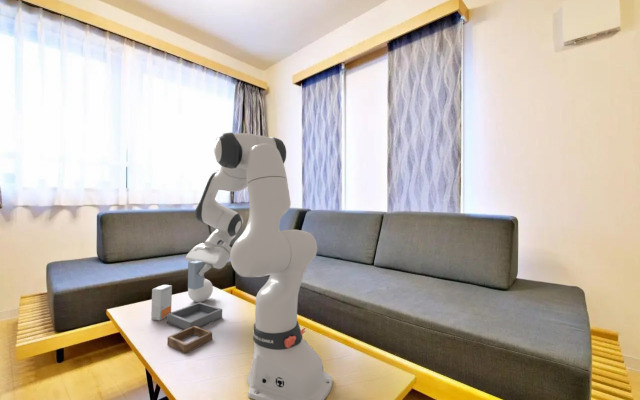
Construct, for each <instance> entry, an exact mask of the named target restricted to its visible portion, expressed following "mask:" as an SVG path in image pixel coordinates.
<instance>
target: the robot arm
mask: <svg viewBox="0 0 640 400" xmlns="http://www.w3.org/2000/svg"><path fill="white" fill-rule="evenodd" d="M286 148H287V147H286V145H285V143H284V141H282V140H281V139H280V138H277V137H275V136H274V137H273V136H270V137H269V136H264V135H259V134H253V133H246V132H245V133H242V132H240V133H239V132H238V133H234V132H224V133H220V134H219V136H217V137H216V139H215V143H214V149H213V151H214V156H215V160H216V162H217V163H218V164H219V165H220V167H221V168H220V169H218V170H215V171H214V172H213V173H212V174H211V175H210V176H209V178H208V180H207V183H206V185H205V188H204V191H203V192H202V196H201V197H200V200H199V202H198V204H197V206H196V207H195V208H196V209H195V211H194V215H195V218H196V220H197V221H198V222H199V223H200V222H201V223H203V224H205V225H208V226H210V227H211V228H213V229H215V230H214V231H213V232H212V233H211V234H209V236H208V237H207V239H206V240H204V243H203V242H202V243H199V244H197V245H195V246H194V247H193V248H192V249H191V250H189V252H188V253H187V254H186V256H185V260H186V261H187V263H188V262H191V261H196V260H198V261H203V263H204V267H203V268H202V269H201V270H199V271H198V272H197V274H198V275H199V276H202V275H203V274H204V275H205V273H206V272H208V271H210V269H211V268H213V269H217V270H221V269H223V268H225V266H226V265H227V263H228V262H229V260H230V264H231V266H232V268H233V271H235V272H236V274H237V275H238V276H240V277H242V278H261V277H266V276H268V279H267V281H266V283H265V284H264V285H263V286H262V287H261V288H260V289H259V291H258V292H257V294H256V296H255V311H254V312H255V317H254V318H255V319H254V320H255V321H254V323H253V331H252V340H253V342H254V343H253V345H254V346H253V353H252V362H251V365H250V370H249V373H248V377H247V383H248V386H249V388H248V393H247V395H248V398H250V399H253V400H325V399H327V397H328V395H329V394H330V391H331V390H332V387H333V377H332V375H331V374H330V373H328V372H326V371H324V363H323V361H322V358H321V356H320V355H319V354H318V353H317V352H316V351H315V349H314V348H313V347H311V345H310V344H309V343H308V342H307V341H306V340H305V339H304V338H303V334H304V333H306V331H305V330H306V327H303V328H302V329H301V327H300V324H299V322H298V300H299V292H300V288H301V286H302V281H303V279H304V276H305V274H306V272H307V269H308V267H309V265H310V264H311V263H312V262H313V261H314V259H315V258H316V256H317V253H318V245H317V241H316V238H315V237H314V235H313V234H312V233H311V232H309V231H306V230H301V229H300V230H299V229H285V230H281V229H280V226H281V225H280V224H281V220H282V218H283V216H284V215H285V214H287V212H289V210H290V209H291V202H292V201H291V196H290V190H289V184H288V178H287V172H286V167H285V162H286V159H287V149H286ZM246 188H247V190H248V191H247V192H248V202H249V203H248V204H249V205H248V206H249V212H248V213H249V214H248V220H247V223H246V225H245V228H244V230H243V232H242V233H241V234H240V236H238V238H237V239H236V240H235V241H234V243H233V244H232V246H230V245H231V242H232V240H234V238H236V236H237V235H238V233H240V230H241V228H242V226H243V223H244V218H243V216H242V215H241V214H240V213H238V212H237V211H235V210H234V209H231V208H229V207H227V206H225V205H223V204H221V203H219V202H218V201H216V196H217V195H218V192H219V191H226V192H233V193H234V192H240V191H242V190H244V189H246Z"/></svg>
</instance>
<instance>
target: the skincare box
mask: <svg viewBox="0 0 640 400" xmlns="http://www.w3.org/2000/svg"><path fill="white" fill-rule="evenodd" d="M172 293H173V285H171V284H170V285H169V284H162V285H158V286H157V287H154V288H152V289H151V312H150V313H151V316H150V319H151V320H155V321H162V320H163V319H165V318H167V314H168V313H171V312H172V301H173V299H172V295H173V294H172Z"/></svg>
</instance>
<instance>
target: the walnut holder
mask: <svg viewBox="0 0 640 400" xmlns="http://www.w3.org/2000/svg"><path fill="white" fill-rule="evenodd" d="M193 335H195V336H198V337H197V338H196V339H193V340H191V341H190V342H184V341H183V340H184V339H186V338H188V337H190V336H193ZM212 340H213V332H212V331H209V330H208V329H205V328H203V327H201V328H200V327H197V326H195V325H194V326H192V327H190V328H187V329H185V330H183V329H182V330H181V331H178V332H176V333H174V334H172V335H169V336H167V346H169V347H171V348H173V349H175V350H177V351H180V352H182V353H183V354H188V353H190V352H191V351H194V350H195V349H197V348H200V347H201V346H203V345H206V344H207V343H209V342H211V341H212Z"/></svg>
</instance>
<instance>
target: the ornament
mask: <svg viewBox="0 0 640 400" xmlns="http://www.w3.org/2000/svg"><path fill="white" fill-rule="evenodd" d="M213 290H214V288H213V283H212V282H211V281H210V280H209V279H207V278H205V277H204V287H202V288H198V289H195V290H194V289H190V288H187V295H188V297H189V298H190V300H191V301H194V302H195V303H199V302H201V303H203V302H205V301H206V300H208V299H209V298H210V297H211V296H212V293H213V292H214V291H213Z"/></svg>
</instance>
